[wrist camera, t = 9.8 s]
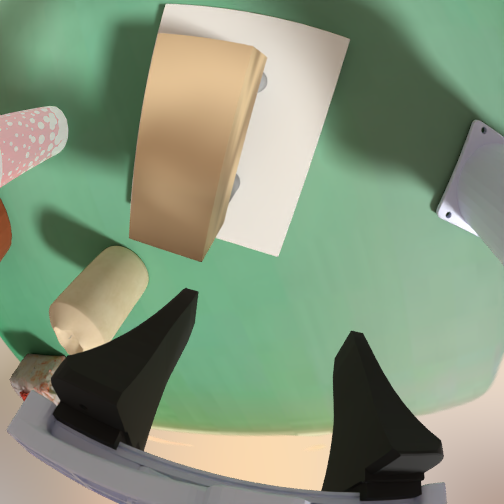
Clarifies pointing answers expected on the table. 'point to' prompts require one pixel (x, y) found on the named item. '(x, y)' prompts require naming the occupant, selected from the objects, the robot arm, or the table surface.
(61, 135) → the beverage cup
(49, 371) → the food item
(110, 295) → the candle
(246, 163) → the peg base
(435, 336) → the table surface
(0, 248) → the potted plant
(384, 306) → the table surface
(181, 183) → the tan rectangular block
